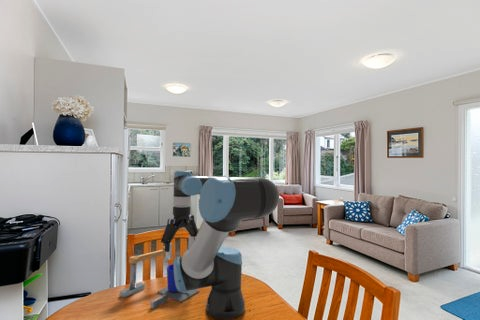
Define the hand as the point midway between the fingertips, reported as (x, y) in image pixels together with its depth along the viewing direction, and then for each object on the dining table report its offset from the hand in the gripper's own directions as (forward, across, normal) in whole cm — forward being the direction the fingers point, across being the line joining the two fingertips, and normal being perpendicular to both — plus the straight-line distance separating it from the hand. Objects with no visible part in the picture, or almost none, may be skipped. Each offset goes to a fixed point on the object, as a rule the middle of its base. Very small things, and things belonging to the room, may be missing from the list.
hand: (180, 254), depth 113 cm
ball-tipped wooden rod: (+3, +4, -15) cm, 16 cm away
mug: (+16, -1, 0) cm, 16 cm away
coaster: (+16, 0, -1) cm, 17 cm away
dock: (+16, +11, -9) cm, 22 cm away
